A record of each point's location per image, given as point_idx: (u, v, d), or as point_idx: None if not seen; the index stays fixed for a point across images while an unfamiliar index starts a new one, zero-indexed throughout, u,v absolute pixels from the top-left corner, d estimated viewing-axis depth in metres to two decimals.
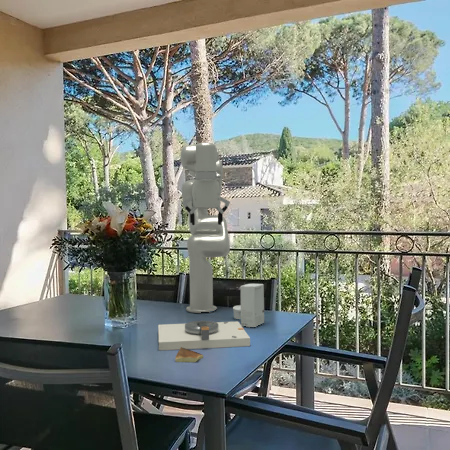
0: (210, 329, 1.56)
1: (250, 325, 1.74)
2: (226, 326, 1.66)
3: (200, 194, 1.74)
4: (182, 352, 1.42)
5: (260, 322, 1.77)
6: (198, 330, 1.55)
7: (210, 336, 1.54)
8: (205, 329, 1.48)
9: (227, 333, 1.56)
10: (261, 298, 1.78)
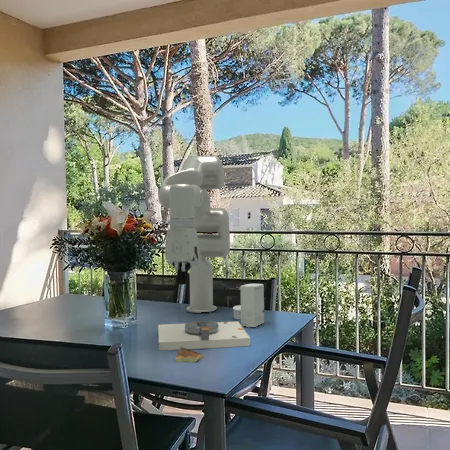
0: (210, 329, 1.56)
1: (250, 325, 1.74)
2: (226, 326, 1.66)
3: None
4: (182, 352, 1.42)
5: (260, 322, 1.77)
6: (198, 330, 1.55)
7: (210, 336, 1.54)
8: (205, 329, 1.48)
9: (227, 333, 1.56)
10: (261, 298, 1.78)
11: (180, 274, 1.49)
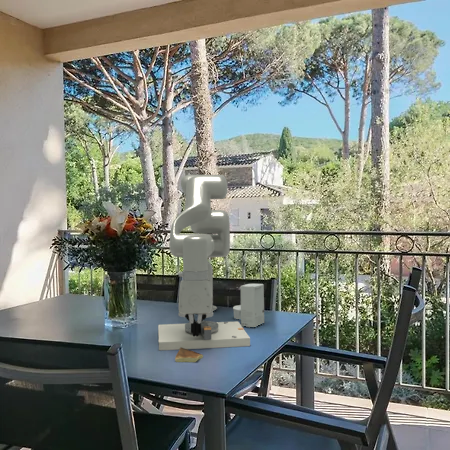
0: (211, 329, 1.56)
1: (250, 325, 1.74)
2: (226, 326, 1.66)
3: None
4: (182, 352, 1.42)
5: (260, 322, 1.77)
6: None
7: None
8: (207, 329, 1.48)
9: (227, 333, 1.56)
10: (261, 298, 1.78)
11: (196, 326, 1.49)
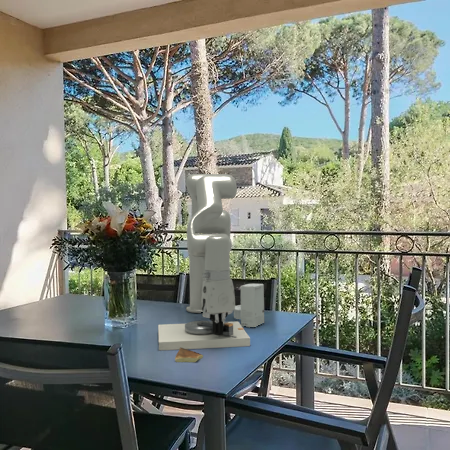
0: None
1: (250, 325, 1.74)
2: None
3: None
4: (182, 352, 1.42)
5: (260, 322, 1.77)
6: (211, 329, 1.56)
7: (210, 336, 1.54)
8: (231, 325, 1.53)
9: None
10: (261, 298, 1.78)
11: (221, 324, 1.51)
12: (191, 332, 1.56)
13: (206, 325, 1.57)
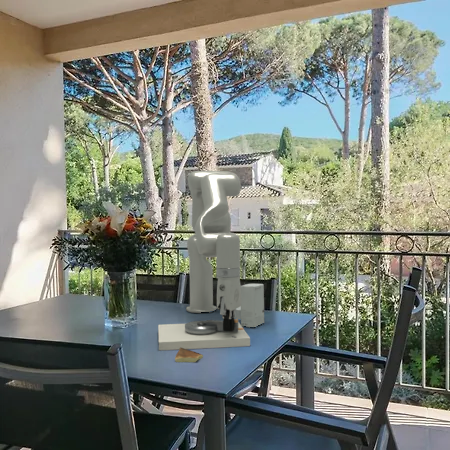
0: None
1: (250, 325, 1.74)
2: None
3: None
4: (182, 352, 1.42)
5: (260, 322, 1.77)
6: (216, 327, 1.58)
7: (210, 336, 1.54)
8: None
9: (227, 333, 1.56)
10: (261, 298, 1.78)
11: (233, 320, 1.55)
12: (199, 333, 1.55)
13: (209, 324, 1.59)
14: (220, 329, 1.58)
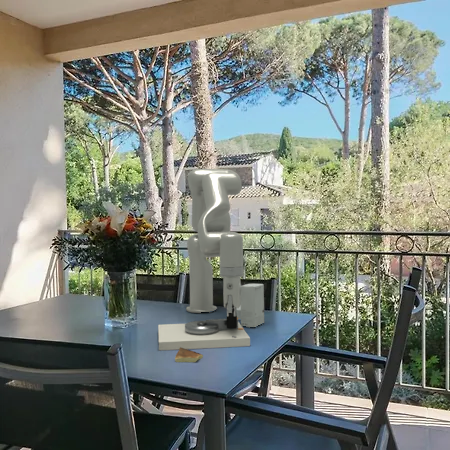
0: None
1: (250, 325, 1.74)
2: None
3: None
4: (182, 352, 1.42)
5: (260, 322, 1.77)
6: (218, 326, 1.60)
7: (210, 336, 1.54)
8: None
9: (227, 333, 1.56)
10: (261, 298, 1.78)
11: (236, 317, 1.59)
12: (205, 333, 1.55)
13: (211, 323, 1.60)
14: (221, 327, 1.60)
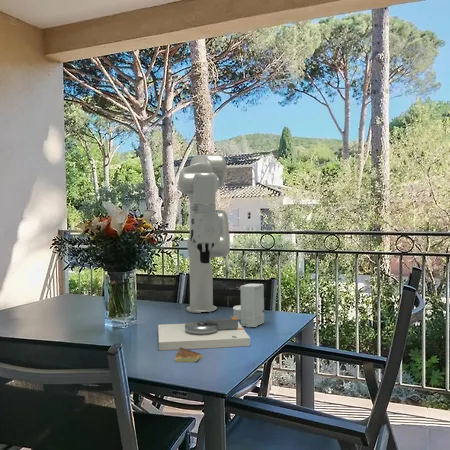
0: None
1: (250, 325, 1.74)
2: None
3: None
4: (181, 352, 1.42)
5: (260, 322, 1.77)
6: (218, 326, 1.60)
7: (210, 336, 1.54)
8: None
9: (227, 333, 1.56)
10: (261, 298, 1.78)
11: (208, 253, 1.66)
12: (205, 332, 1.55)
13: (211, 323, 1.60)
14: (221, 327, 1.60)
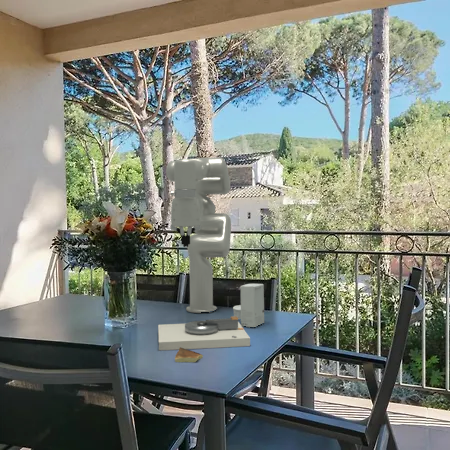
0: None
1: (250, 325, 1.74)
2: None
3: None
4: (181, 352, 1.42)
5: (260, 322, 1.77)
6: (218, 326, 1.60)
7: (210, 336, 1.54)
8: None
9: (227, 333, 1.56)
10: (261, 298, 1.78)
11: (186, 237, 1.72)
12: (205, 332, 1.55)
13: (211, 323, 1.60)
14: (221, 327, 1.60)
